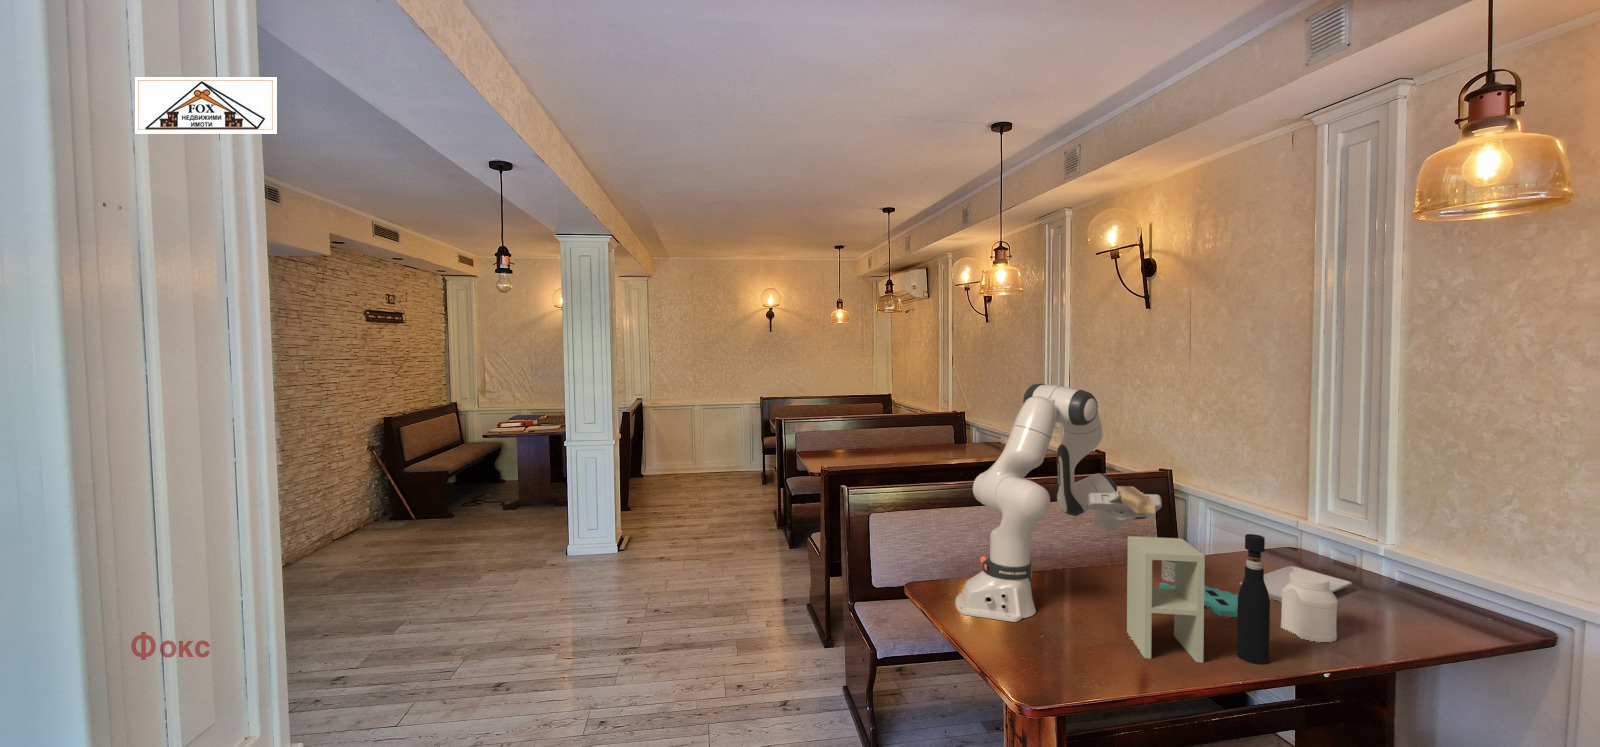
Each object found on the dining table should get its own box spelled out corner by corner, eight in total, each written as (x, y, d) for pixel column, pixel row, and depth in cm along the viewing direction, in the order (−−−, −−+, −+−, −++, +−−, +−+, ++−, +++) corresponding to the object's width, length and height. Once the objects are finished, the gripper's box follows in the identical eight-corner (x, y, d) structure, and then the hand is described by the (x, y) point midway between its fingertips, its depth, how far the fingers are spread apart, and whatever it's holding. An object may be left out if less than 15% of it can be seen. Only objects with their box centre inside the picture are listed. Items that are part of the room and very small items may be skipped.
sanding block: (1137, 514, 174) (1137, 501, 173) (1116, 497, 192) (1116, 486, 192) (1155, 515, 173) (1155, 502, 173) (1132, 498, 191) (1133, 486, 191)
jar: (1345, 642, 162) (1346, 584, 162) (1309, 643, 162) (1310, 585, 161) (1306, 622, 174) (1307, 568, 173) (1273, 624, 173) (1274, 569, 173)
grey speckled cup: (1187, 584, 202) (1187, 564, 202) (1163, 582, 204) (1163, 561, 204) (1180, 574, 211) (1181, 554, 211) (1158, 571, 214) (1158, 552, 214)
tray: (1354, 592, 195) (1354, 581, 195) (1301, 613, 180) (1301, 601, 180) (1290, 575, 210) (1290, 564, 210) (1237, 593, 195) (1237, 582, 195)
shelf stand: (1144, 658, 155) (1145, 553, 154) (1126, 632, 169) (1127, 536, 168) (1203, 662, 153) (1204, 556, 152) (1180, 636, 167) (1181, 538, 165)
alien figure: (1184, 616, 180) (1264, 621, 176) (1184, 608, 180) (1264, 613, 176) (1159, 589, 200) (1230, 593, 196) (1159, 582, 200) (1230, 586, 196)
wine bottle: (1230, 652, 158) (1232, 532, 156) (1254, 651, 158) (1256, 531, 157) (1250, 665, 151) (1252, 540, 150) (1275, 663, 152) (1278, 539, 151)
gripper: (1081, 496, 203) (1090, 483, 191) (1151, 498, 199) (1165, 484, 186) (1083, 516, 200) (1093, 503, 188) (1154, 518, 196) (1169, 506, 184)
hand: (1129, 494), depth 187 cm, fingers closed on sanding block, 4 cm apart
